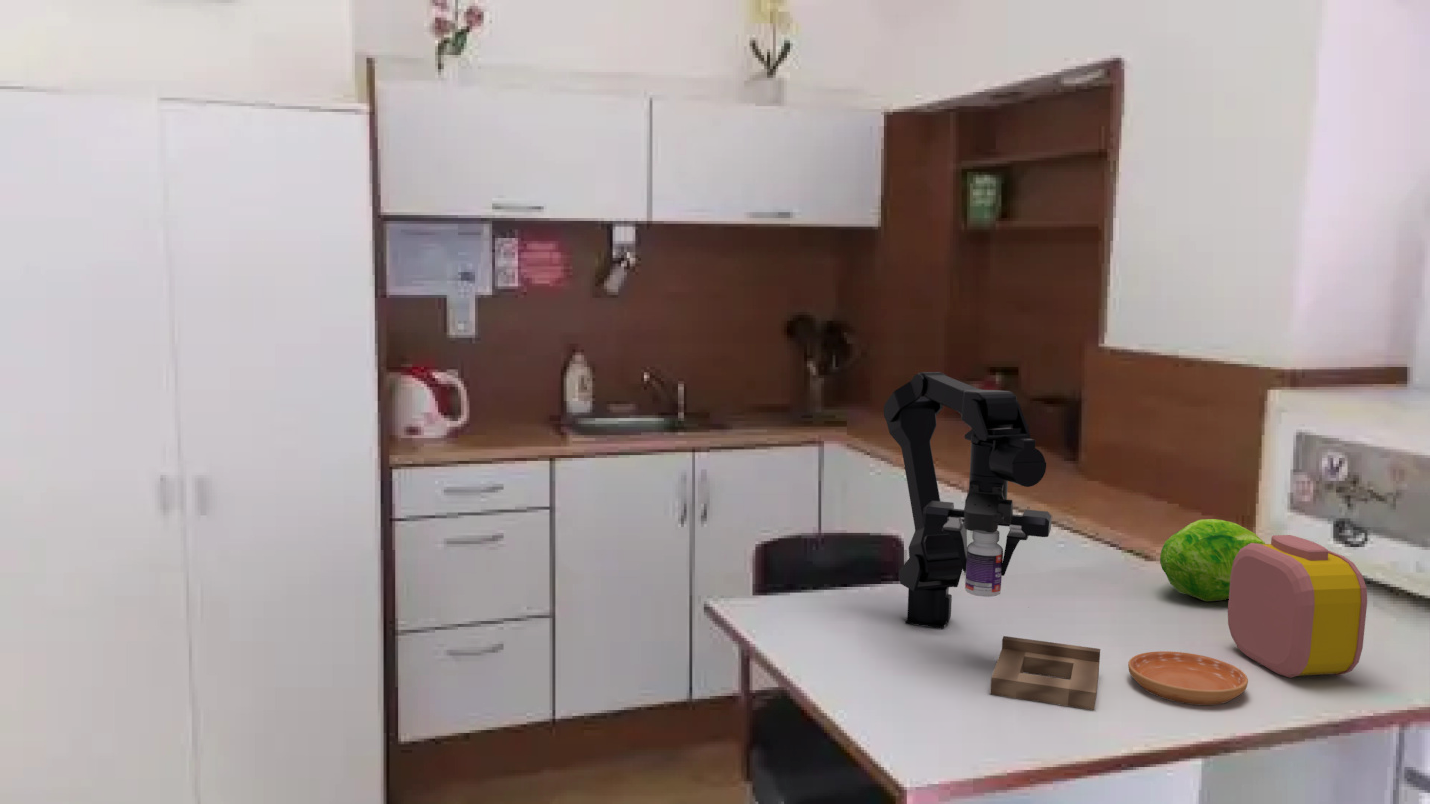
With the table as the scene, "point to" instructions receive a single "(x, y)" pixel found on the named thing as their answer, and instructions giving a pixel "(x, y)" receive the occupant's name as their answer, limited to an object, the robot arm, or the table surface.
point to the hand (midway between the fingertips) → (983, 573)
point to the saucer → (1187, 677)
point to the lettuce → (1204, 557)
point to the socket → (1047, 672)
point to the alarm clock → (1297, 607)
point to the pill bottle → (984, 564)
